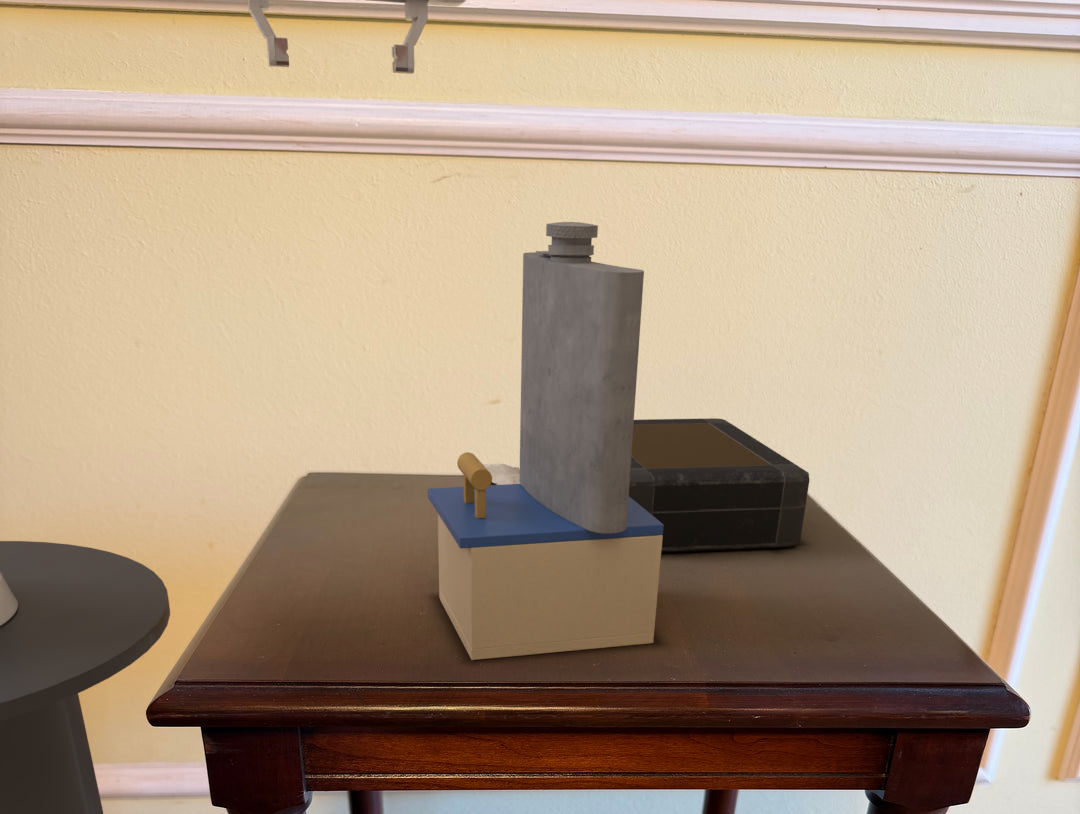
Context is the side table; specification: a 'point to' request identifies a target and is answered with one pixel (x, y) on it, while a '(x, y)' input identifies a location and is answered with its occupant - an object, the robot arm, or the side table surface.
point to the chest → (550, 594)
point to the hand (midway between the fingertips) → (342, 70)
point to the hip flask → (578, 379)
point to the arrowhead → (503, 474)
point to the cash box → (715, 486)
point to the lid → (515, 513)
